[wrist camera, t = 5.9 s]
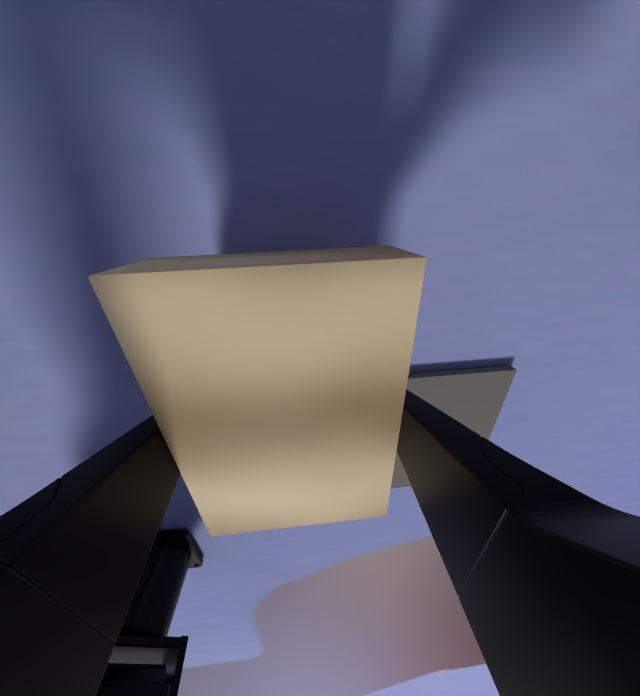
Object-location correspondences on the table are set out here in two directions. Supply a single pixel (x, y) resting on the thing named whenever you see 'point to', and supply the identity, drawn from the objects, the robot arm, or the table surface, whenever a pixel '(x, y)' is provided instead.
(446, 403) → the mat
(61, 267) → the table surface
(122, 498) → the robot arm
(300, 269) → the cover
